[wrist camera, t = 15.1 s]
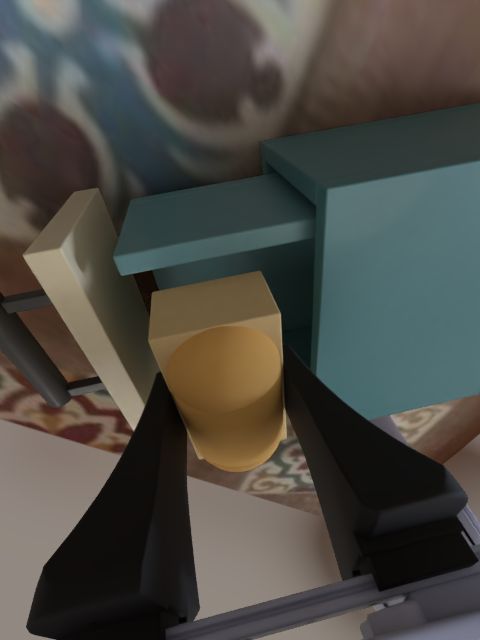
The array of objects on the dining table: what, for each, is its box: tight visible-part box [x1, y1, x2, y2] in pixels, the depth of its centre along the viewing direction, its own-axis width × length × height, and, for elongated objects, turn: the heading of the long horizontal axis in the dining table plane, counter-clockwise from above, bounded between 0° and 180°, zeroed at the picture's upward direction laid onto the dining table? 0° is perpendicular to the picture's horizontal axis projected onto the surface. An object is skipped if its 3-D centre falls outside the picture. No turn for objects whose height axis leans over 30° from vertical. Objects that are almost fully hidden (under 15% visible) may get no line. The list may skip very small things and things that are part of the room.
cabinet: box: [260, 103, 480, 420], centre depth 17 cm, size 16×14×9 cm
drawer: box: [0, 173, 316, 431], centre depth 16 cm, size 19×12×7 cm, turn 97°
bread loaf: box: [148, 271, 287, 472], centre depth 12 cm, size 8×4×4 cm, turn 7°
